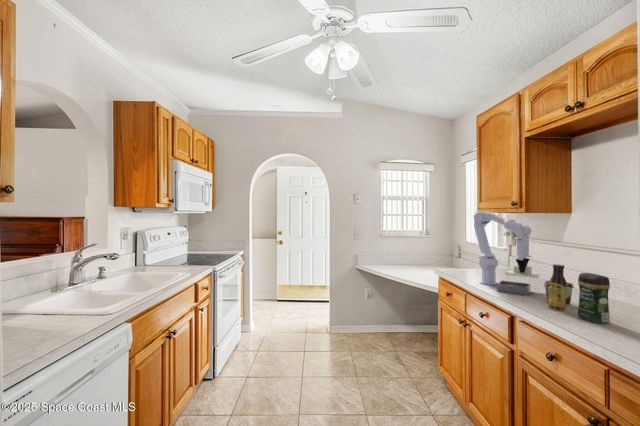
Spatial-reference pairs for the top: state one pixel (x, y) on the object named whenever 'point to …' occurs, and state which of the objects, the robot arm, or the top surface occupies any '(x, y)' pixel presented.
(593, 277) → the coffee jar
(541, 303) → the top surface
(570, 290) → the food container
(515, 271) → the lid
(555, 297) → the sauce bottle
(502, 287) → the tub
